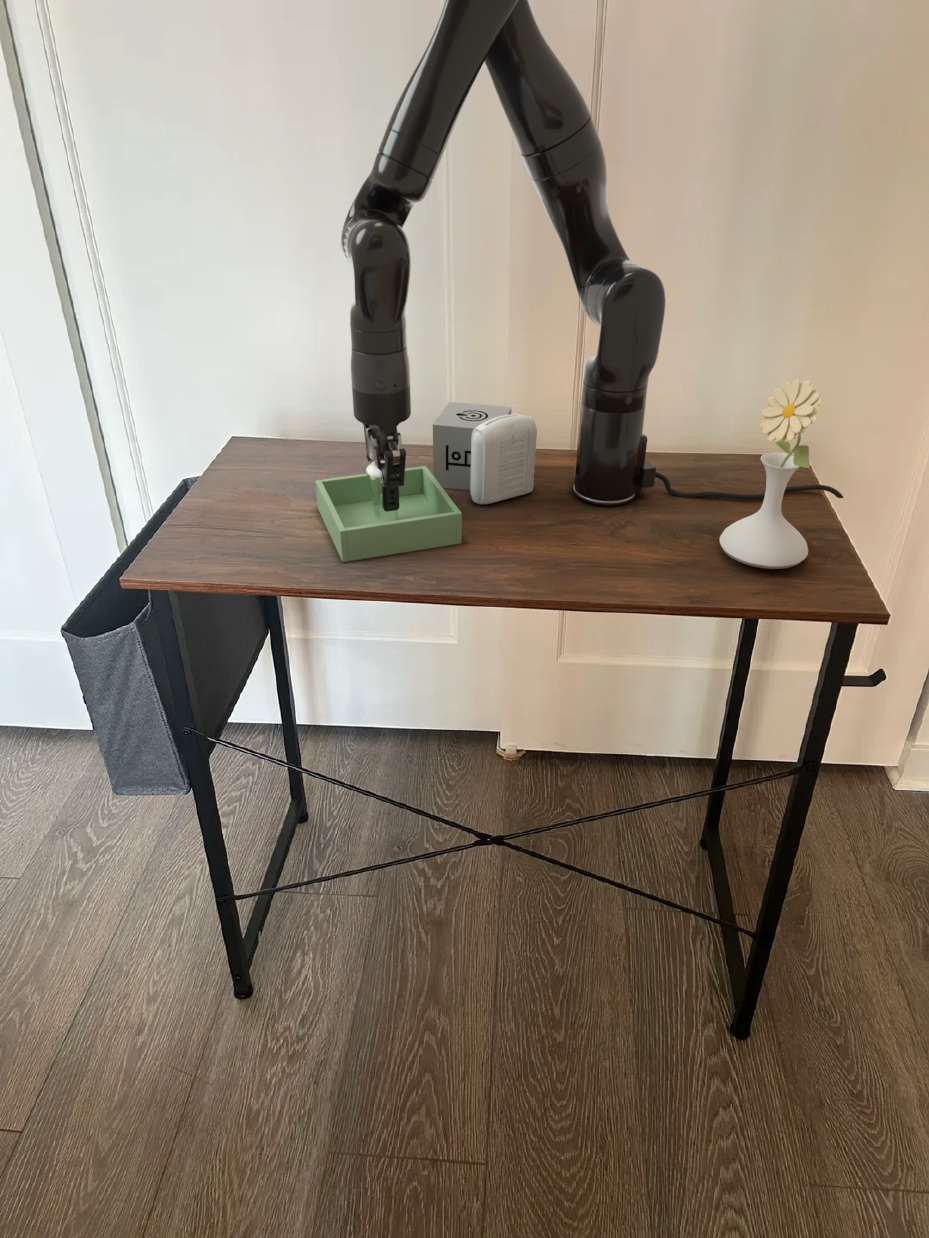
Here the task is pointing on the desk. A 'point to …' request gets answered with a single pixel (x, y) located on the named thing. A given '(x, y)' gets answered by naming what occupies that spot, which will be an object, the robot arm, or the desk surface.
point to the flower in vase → (776, 483)
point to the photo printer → (503, 458)
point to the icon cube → (458, 441)
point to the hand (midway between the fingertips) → (386, 501)
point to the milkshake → (378, 496)
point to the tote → (419, 524)
